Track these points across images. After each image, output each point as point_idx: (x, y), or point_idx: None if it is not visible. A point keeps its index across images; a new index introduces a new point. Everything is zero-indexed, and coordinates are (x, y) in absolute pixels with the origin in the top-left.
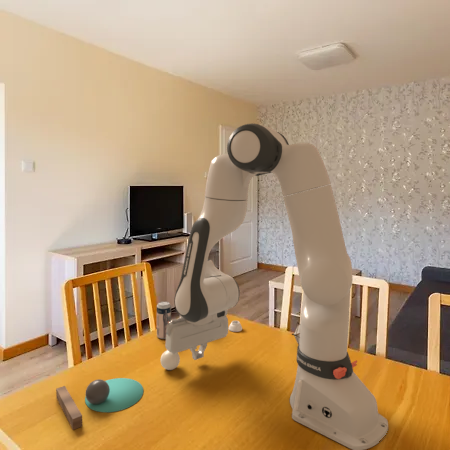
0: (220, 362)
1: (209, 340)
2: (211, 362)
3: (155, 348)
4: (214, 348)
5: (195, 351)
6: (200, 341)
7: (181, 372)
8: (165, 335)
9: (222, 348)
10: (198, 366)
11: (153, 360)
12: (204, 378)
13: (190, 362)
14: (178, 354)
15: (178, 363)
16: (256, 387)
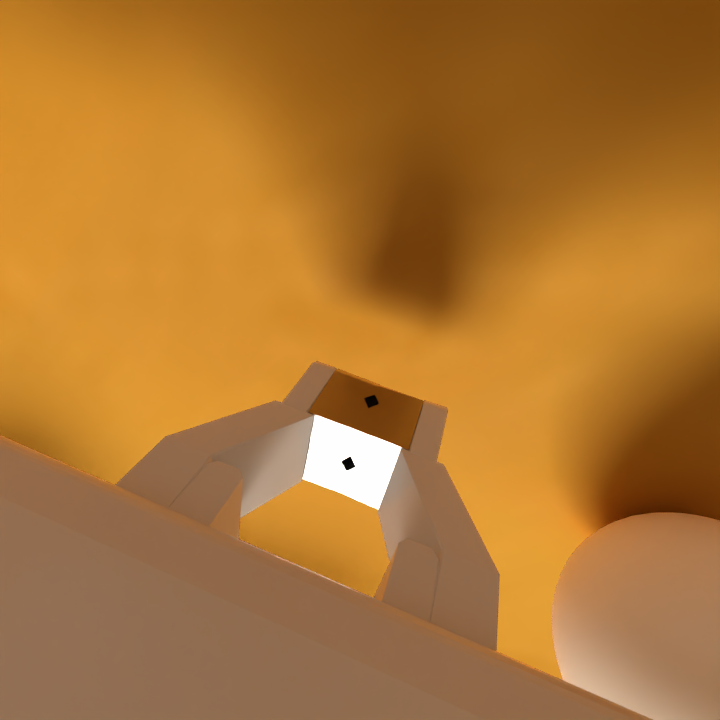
0: (187, 162)
1: (16, 489)
2: (267, 256)
3: None
4: (99, 380)
5: (435, 511)
6: (270, 692)
7: (684, 418)
8: None
9: (39, 324)
10: (436, 328)
11: None
12: (711, 16)
13: None
14: (638, 659)
15: (686, 540)
16: None
